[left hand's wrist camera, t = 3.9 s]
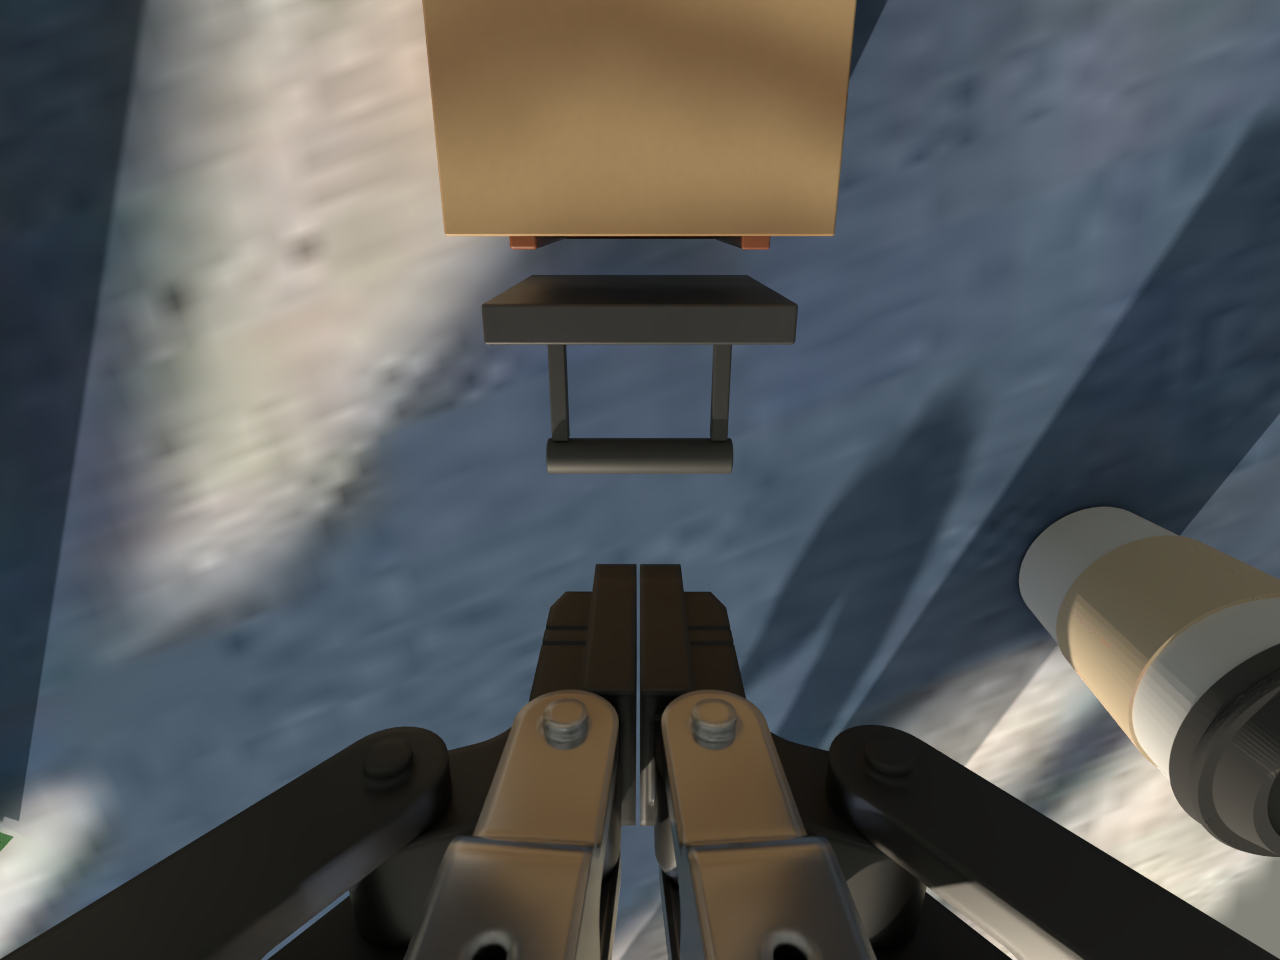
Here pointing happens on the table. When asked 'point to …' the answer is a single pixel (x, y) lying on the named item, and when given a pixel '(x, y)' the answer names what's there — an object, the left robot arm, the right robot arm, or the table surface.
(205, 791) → the table surface
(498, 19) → the tan wavy patterned box
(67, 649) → the table surface
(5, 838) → the toy game set
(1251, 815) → the coffee cup
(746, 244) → the drawer
